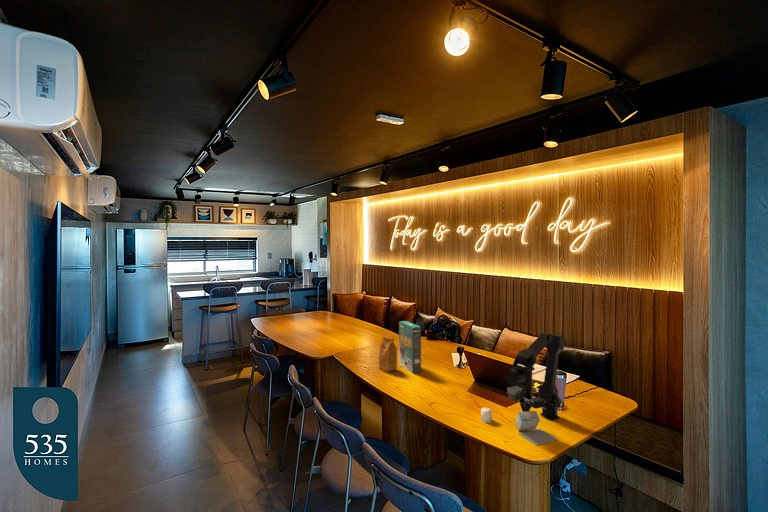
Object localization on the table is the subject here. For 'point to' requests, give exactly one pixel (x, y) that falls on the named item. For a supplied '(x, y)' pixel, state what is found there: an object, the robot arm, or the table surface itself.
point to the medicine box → (527, 420)
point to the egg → (486, 415)
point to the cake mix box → (410, 346)
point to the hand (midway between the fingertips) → (525, 415)
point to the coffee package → (387, 355)
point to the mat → (538, 436)
